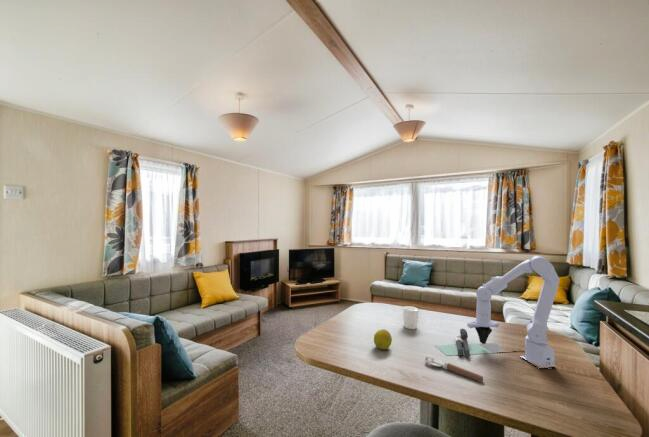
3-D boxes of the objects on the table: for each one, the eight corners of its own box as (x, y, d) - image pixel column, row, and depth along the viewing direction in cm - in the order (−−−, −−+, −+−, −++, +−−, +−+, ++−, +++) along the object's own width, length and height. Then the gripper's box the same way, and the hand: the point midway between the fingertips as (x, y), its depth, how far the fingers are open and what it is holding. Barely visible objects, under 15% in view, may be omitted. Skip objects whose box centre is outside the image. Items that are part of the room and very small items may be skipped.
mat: (525, 351, 122) (525, 351, 122) (446, 355, 117) (446, 355, 117) (509, 342, 131) (509, 342, 131) (434, 345, 125) (434, 345, 125)
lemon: (386, 355, 115) (386, 336, 116) (369, 349, 120) (370, 331, 120) (395, 346, 124) (396, 328, 124) (379, 341, 129) (380, 324, 129)
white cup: (416, 324, 151) (416, 306, 151) (419, 330, 143) (420, 311, 143) (401, 323, 152) (402, 305, 152) (404, 329, 144) (404, 310, 144)
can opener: (454, 338, 134) (455, 325, 134) (466, 340, 132) (466, 327, 132) (457, 355, 116) (457, 341, 116) (470, 358, 114) (470, 343, 114)
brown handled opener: (484, 380, 100) (484, 372, 100) (480, 388, 96) (481, 379, 95) (428, 359, 113) (428, 352, 113) (423, 364, 109) (423, 357, 109)
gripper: (491, 309, 129) (490, 338, 129) (463, 310, 127) (462, 339, 127) (502, 315, 122) (502, 345, 122) (473, 316, 120) (473, 346, 120)
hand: (482, 342), depth 124 cm, fingers closed
